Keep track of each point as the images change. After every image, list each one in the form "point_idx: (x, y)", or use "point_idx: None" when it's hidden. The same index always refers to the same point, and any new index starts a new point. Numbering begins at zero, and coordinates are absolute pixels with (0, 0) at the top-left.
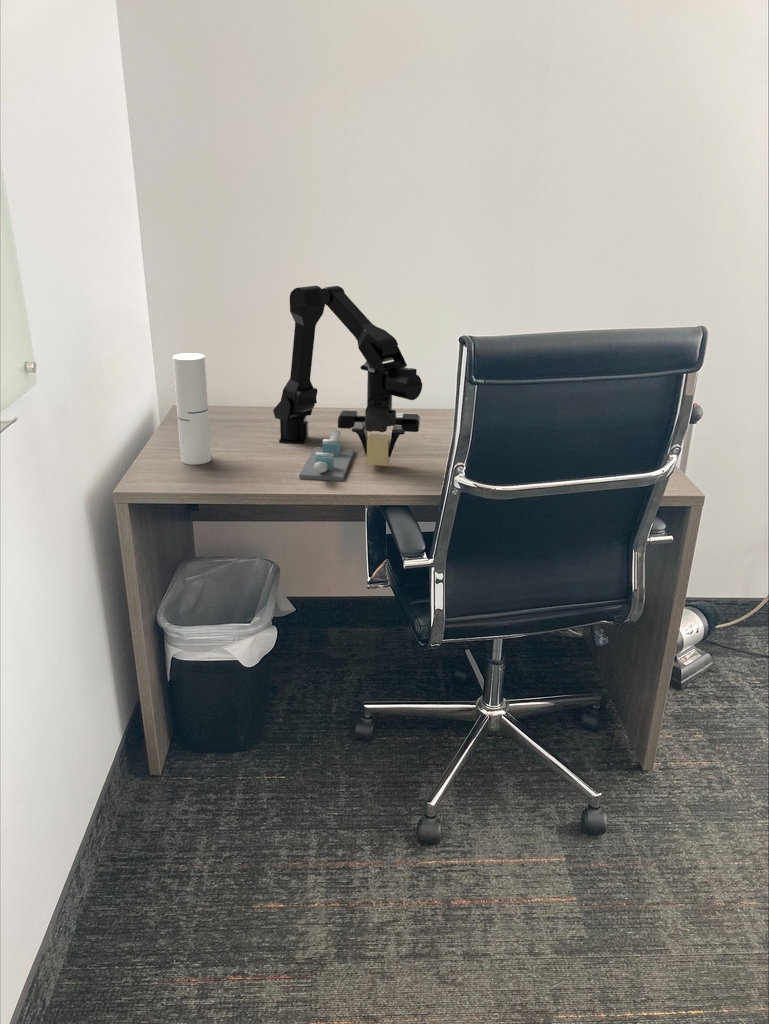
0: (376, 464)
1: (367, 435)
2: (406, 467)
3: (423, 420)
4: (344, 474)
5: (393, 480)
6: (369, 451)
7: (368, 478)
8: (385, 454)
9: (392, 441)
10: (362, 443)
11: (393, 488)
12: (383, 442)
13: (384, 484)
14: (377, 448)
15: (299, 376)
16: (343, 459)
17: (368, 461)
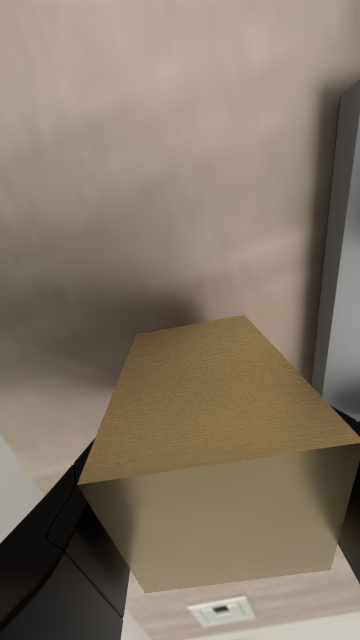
0: (193, 325)
1: (340, 541)
2: (92, 390)
3: (176, 613)
4: (344, 173)
5: (72, 221)
6: (260, 357)
7: (203, 206)
8: (139, 367)
9: (70, 501)
10: (355, 420)
11: (5, 64)
12: (143, 453)
13: (89, 130)
14: (202, 386)
15: None
16: (354, 364)
17: (240, 324)
